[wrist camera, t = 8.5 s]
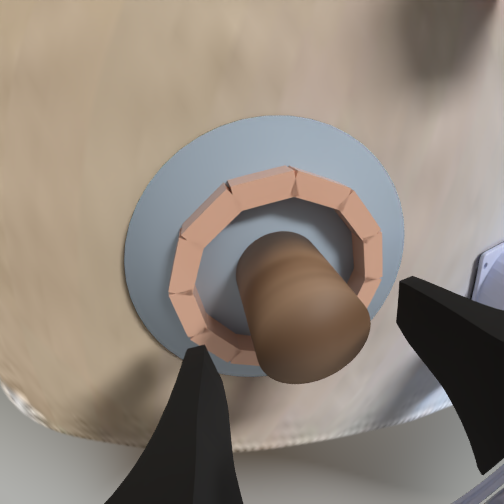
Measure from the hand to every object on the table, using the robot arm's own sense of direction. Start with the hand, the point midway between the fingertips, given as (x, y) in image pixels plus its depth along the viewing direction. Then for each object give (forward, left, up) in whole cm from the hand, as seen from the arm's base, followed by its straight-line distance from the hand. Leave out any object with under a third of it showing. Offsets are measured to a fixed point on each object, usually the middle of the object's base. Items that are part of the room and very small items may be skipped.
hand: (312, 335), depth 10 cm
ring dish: (0, 0, -5) cm, 5 cm away
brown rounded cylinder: (0, 0, -4) cm, 4 cm away
